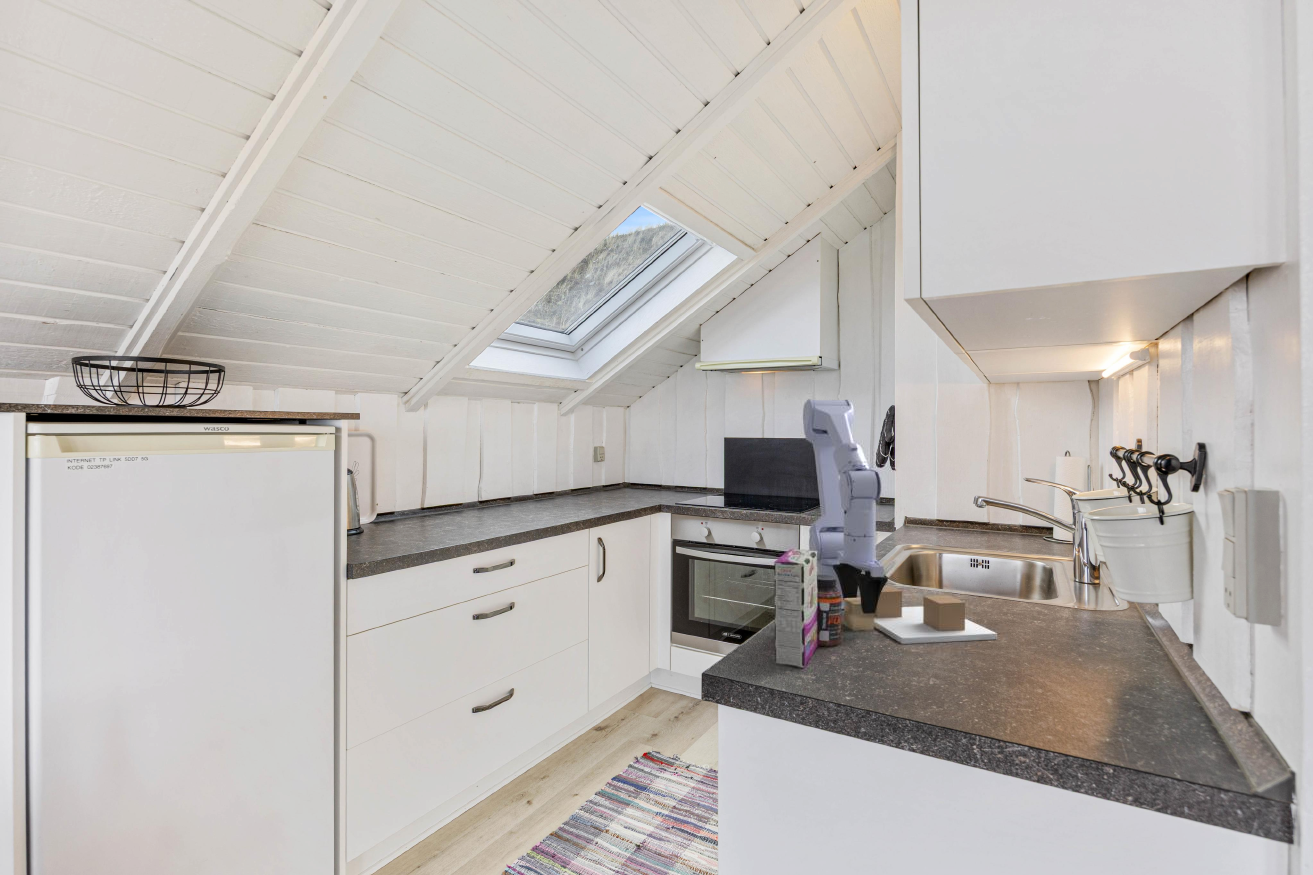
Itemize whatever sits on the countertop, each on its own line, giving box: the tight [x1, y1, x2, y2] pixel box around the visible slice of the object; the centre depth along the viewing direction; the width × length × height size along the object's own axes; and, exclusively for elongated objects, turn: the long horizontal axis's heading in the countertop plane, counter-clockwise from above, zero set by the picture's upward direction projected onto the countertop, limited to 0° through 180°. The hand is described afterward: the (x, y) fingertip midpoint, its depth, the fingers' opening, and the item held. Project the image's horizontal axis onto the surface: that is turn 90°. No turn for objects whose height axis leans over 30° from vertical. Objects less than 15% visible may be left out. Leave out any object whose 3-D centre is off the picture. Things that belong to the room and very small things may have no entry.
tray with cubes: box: [874, 584, 998, 645], centre depth 120 cm, size 18×18×6 cm
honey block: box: [843, 597, 875, 632], centre depth 119 cm, size 4×4×5 cm
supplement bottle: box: [817, 575, 842, 647], centre depth 111 cm, size 6×6×11 cm
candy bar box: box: [773, 548, 819, 669], centre depth 104 cm, size 11×5×16 cm, turn 155°
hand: (859, 607), depth 119 cm, fingers open, 7 cm apart
